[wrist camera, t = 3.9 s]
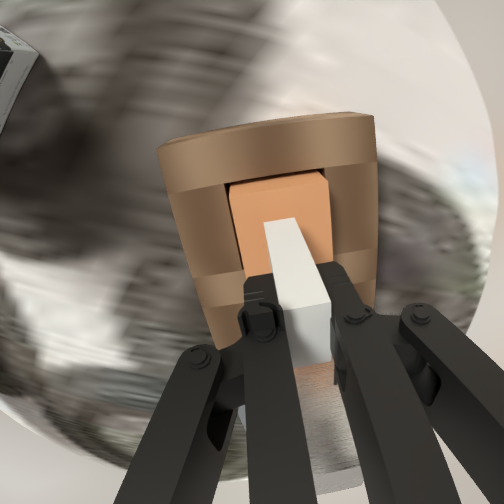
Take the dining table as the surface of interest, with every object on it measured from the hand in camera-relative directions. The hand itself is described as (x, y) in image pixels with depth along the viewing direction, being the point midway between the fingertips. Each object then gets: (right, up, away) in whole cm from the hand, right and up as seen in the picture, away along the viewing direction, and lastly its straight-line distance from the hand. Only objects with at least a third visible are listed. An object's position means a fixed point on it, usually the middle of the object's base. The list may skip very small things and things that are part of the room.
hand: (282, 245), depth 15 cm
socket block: (+1, -1, +8) cm, 8 cm away
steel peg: (+1, -4, +10) cm, 11 cm away
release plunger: (0, +3, +5) cm, 6 cm away
